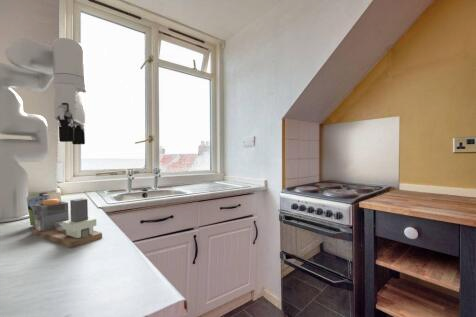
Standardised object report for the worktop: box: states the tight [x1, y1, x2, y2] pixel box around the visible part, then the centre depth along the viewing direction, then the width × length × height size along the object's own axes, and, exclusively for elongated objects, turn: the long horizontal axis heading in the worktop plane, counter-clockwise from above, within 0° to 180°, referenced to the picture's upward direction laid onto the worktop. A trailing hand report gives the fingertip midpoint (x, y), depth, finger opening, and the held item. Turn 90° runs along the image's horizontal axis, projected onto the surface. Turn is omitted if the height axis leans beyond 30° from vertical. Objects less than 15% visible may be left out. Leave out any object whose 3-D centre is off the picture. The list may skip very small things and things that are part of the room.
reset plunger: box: [43, 198, 60, 206], centre depth 72 cm, size 4×4×2 cm
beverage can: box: [27, 191, 51, 227], centre depth 78 cm, size 6×7×12 cm
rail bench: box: [30, 200, 103, 249], centre depth 68 cm, size 25×8×9 cm, turn 62°
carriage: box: [62, 197, 97, 238], centre depth 64 cm, size 6×6×10 cm
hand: (73, 143), depth 64 cm, fingers open, 9 cm apart
